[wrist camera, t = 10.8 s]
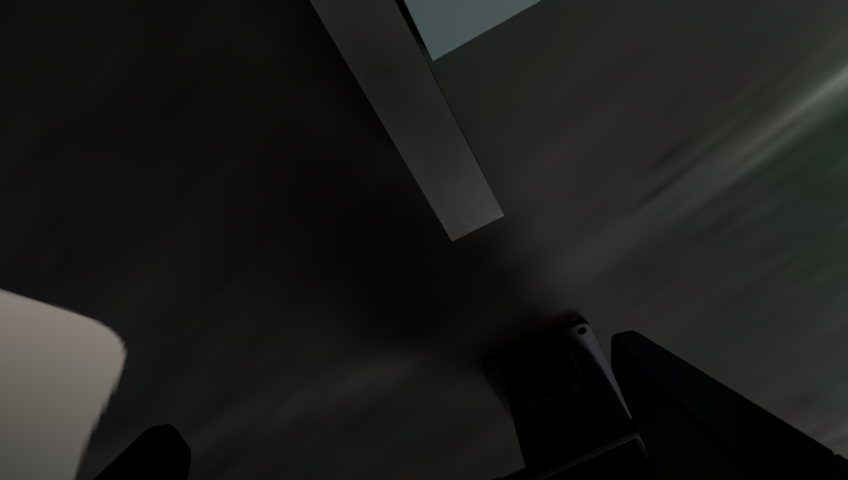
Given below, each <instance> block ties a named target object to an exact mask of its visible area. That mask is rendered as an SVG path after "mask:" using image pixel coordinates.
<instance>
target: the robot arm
mask: <svg viewBox="0 0 848 480" xmlns="http://www.w3.org/2000/svg"><path fill="white" fill-rule="evenodd" d="M581 327H583V329H581V330H578V329H579V328H581ZM491 366H492V367H493V368H489V367H491ZM611 367H612V371H613V374H612V371H611V369H610V367H609V365H608V363H607V361H606V359H605V357H604V354H603V352H602V350H601V348H600V346H599V344H598V342H597V340H596V338H595V335H594V333H593V331H592V329H591V327H590V325H589V324H588V322H587V321H586V320H584V319H579V320H576V321H573V322H571V323H569V324H566V325H564V326H562V327H559V328H557V329H555V330H553V331H550V332H548V333H546V334H543V335H541V336H539V337H537V338H534V339H532V340H530V341H527V342H525V343H523V344H520V345H518V346H516V347H514V348H511V349H509V350H507V351H504V352H502V353H500V354H497V355H495V356H493V357H491V358H488V359H486V360H485V361H483V363H482V370H483V373H484V375H485V376H486V378H487V379H488V381H489V382H490V384H491V385H492V387H493V388H494V390H495V392H496V393H497V395H498V396H499V398H500V399H501V401H502V402H503V404H504V405H505V407H506V408H507V410H508V411H509V413H510V414H511V416H512V418H513V422H514V426H515V429H516V433H517V437H518V441H519V444H520V448H521V452H522V456H523V460H524V463H525V468H523V469H521V470H519V471H516V472H514V473H512V474H510V475H508V476H506V477H503V478H500V477H498V478H496V479H494V480H848V459H846V458H844V457H843V456H841V455H839V454H836V455H834V452H833V451H832V450H831V449H829V448H828V447H826V446H824V445H823V444H821V443H819V442H818V441H816V440H814V439H813V438H811V437H809V436H808V435H806V434H804V433H803V432H801V431H799V430H798V429H796V428H795V427H793V426H791V425H790V424H788V423H786V422H785V421H783V420H781V419H780V418H778V417H776V416H775V415H773V414H771V413H770V412H768V411H766V410H765V409H763V408H761V407H760V406H758V405H757V404H755V403H753V402H752V401H750V400H748V399H747V398H745V397H743V396H742V395H740V394H738V393H737V392H735V391H733V390H732V389H730V388H728V387H727V386H725V385H724V384H722V383H720V382H719V381H717V380H715V379H714V378H712V377H710V376H709V375H707V374H705V373H704V372H702V371H700V370H699V369H697V368H695V367H694V366H692V365H690V364H689V363H687V362H686V361H684V360H682V359H681V358H679V357H677V356H676V355H674V354H672V353H671V352H669V351H667V350H666V349H664V348H662V347H661V346H659V345H657V344H656V343H654V342H652V341H651V340H649V339H648V338H646V337H644V336H643V335H641V334H639V333H638V332H635V331H626V332H621V333H616V334H614V335H613V336H612V339H611ZM613 375H614V376H613ZM614 377H615V378H614ZM615 379H616V380H615ZM621 393H622V396H623V398H624V400H625V403H626V405H627V407H628V410H629V412H630V414H631V416H632V418H631V419H630V417H629V415H628V414H627V412H626V410H625V408H624V406H623V405H622V403H621V401H620V399H619V396H620V394H621ZM190 463H191V451H190V448H189V446H188V445H187V443H186V442H185V441H184V439H183V438H182V437H181V435H180V434H179V433H178V431H177V430H176V429H175V427H174V426H172V425H170V424H164V425H159V426H154V427H151V428H148V429H147V430H146V431H144V432H143V433H142V434H141V435H140V436H139V437H138V438H137V439H136V440H135V441H134V442H133V443H132V444H131V445H130V446H129V447H128V448H127V449H125V450H124V451H123V452H122V453H121V454H120V455H119V456H118V457H117V458H116V459H115V460H114V461H113V462H112V463H111V464H110V465H109V466H108V467H106V468H105V469H104V470H103V471H102V472H101V473H100V474H99V475H98V476H97V477H96V478H95V479H94V480H187V478H188V473H189V468H190Z"/></svg>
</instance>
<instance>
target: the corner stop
mask: <svg viewBox="0 0 848 480" xmlns="http://www.w3.org/2000/svg"><path fill="white" fill-rule="evenodd" d="M310 2H311V3H312V5H313V7H314V9H315V10H316V12H317V14H318V15H319V17H320V19H321V20H322V22H323V24H324V25H325V27H326V29H327V31H328V32H329V34H330V36H331V37H332V39H333V41H334V42H335V44H336V46H337V47H338V49H339V51H340V53H341V54H342V56H343V58H344V59H345V61H346V63H347V64H348V66H349V68H350V69H351V71H352V73H353V75H354V76H355V78H356V80H357V81H358V83H359V85H360V86H361V88H362V90H363V91H364V93H365V95H366V97H367V98H368V100H369V102H370V103H371V105H372V107H373V108H374V110H375V112H376V114H377V115H378V117H379V119H380V120H381V122H382V124H383V125H384V127H385V129H386V130H387V132H388V134H389V136H390V137H391V139H392V141H393V142H394V144H395V146H396V147H397V149H398V151H399V152H400V154H401V156H402V158H403V159H404V161H405V163H406V164H407V166H408V168H409V169H410V171H411V173H412V174H413V176H414V178H415V180H416V181H417V183H418V185H419V186H420V188H421V190H422V191H423V193H424V195H425V196H426V198H427V200H428V202H429V203H430V205H431V207H432V208H433V210H434V212H435V213H436V215H437V217H438V218H439V220H440V222H441V224H442V225H443V227H444V229H445V230H446V232H447V234H448V235H449V237H450V239H451V240H452V241H454V240H456V239H458V238H460V237H462V236H464V235H466V234H468V233H470V232H472V231H474V230H476V229H478V228H480V227H482V226H484V225H486V224H488V223H490V222H492V221H494V220H496V219H498V218H500V217H502V216H504V214H503V212H502V210H501V208H500V206H499V204H498V202H497V200H496V197H495V195H494V193H493V191H492V189H491V187H490V185H489V183H488V181H487V179H486V177H485V175H484V173H483V171H482V169H481V167H480V164H479V162H478V160H477V158H476V156H475V155H474V153H473V151H472V149H471V147H470V145H469V143H468V141H467V139H466V137H465V135H464V133H463V131H462V129H461V127H460V125H459V123H458V121H457V119H456V117H455V115H454V113H453V111H452V109H451V107H450V105H449V104H448V102H447V100H446V98H445V96H444V94H443V92H442V90H441V88H440V86H439V84H438V82H437V80H436V78H435V76H434V74H433V72H432V70H431V68H430V66H429V64H428V62H427V60H426V58H425V56H424V54H423V53H422V51H421V49H420V47H419V45H418V43H417V41H416V39H415V37H414V35H413V33H412V31H411V29H410V27H409V25H408V23H407V21H406V19H405V17H404V15H403V13H402V11H401V9H400V7H399V5H398V3H397V2H396V0H310Z"/></svg>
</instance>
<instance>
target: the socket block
mask: <svg viewBox="0 0 848 480" xmlns="http://www.w3.org/2000/svg"><path fill="white" fill-rule="evenodd" d="M403 1H404V3H405V5H406V7H407V10H408V12H409V14H410V16H411V18H412V20H413V22H414V24H415V26H416V28H417V30H418V32H419V35H420V37H421V39H422V41H423V43H424V45H425V47H426V49H427V51H428V53H429V55H430V56H431V58H432V60H433V61H434V60H436V59H437V58H439V57H441V56H443V55H444V54H446V53H448V52H450V51H452V50H453V49H455V48H457V47H459V46H460V45H462V44H464V43H466V42H468V41H469V40H471V39H473V38H475V37H476V36H478V35H480V34H482V33H484V32H485V31H487V30H489V29H491V28H492V27H494V26H496V25H498V24H500V23H501V22H503V21H505V20H507V19H508V18H510V17H512V16H514V15H515V14H517V13H519V12H521V11H523V10H524V9H526V8H528V7H530V6H531V5H533V4H535V3H537V2H539V1H540V0H403Z"/></svg>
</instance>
